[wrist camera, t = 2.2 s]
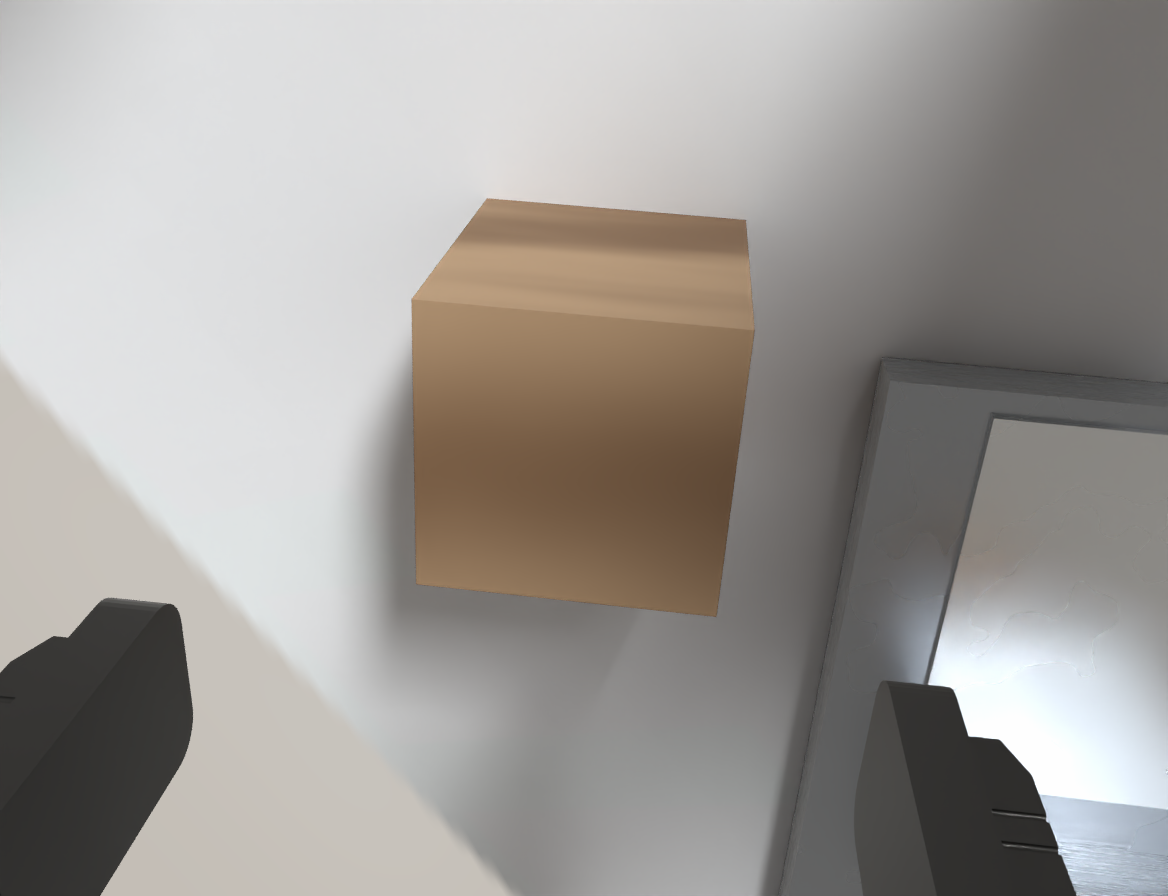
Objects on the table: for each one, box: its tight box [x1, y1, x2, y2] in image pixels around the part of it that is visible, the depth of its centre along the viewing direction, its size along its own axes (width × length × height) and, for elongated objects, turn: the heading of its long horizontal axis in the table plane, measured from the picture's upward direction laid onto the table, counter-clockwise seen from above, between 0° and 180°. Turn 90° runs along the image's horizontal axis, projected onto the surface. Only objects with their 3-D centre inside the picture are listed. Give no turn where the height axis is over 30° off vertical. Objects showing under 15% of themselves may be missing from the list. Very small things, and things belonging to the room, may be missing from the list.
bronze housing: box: [412, 199, 755, 617], centre depth 20 cm, size 5×5×6 cm
